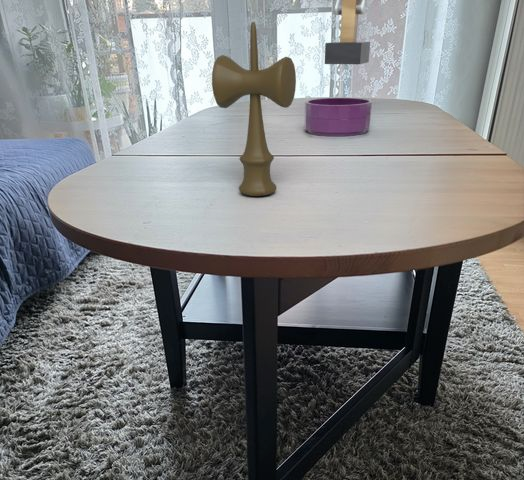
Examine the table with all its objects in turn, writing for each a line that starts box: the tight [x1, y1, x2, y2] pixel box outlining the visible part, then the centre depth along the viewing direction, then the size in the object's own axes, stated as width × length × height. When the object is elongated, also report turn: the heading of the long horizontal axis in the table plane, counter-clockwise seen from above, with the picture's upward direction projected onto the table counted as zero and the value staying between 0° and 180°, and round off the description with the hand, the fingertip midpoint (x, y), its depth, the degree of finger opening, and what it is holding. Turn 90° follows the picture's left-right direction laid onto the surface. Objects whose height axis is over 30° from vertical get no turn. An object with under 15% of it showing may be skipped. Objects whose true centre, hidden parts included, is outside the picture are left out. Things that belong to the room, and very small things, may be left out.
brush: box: [324, 0, 371, 65], centre depth 96 cm, size 7×7×14 cm
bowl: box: [304, 97, 373, 137], centre depth 111 cm, size 14×14×6 cm
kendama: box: [211, 21, 297, 197], centre depth 65 cm, size 6×10×20 cm, turn 68°
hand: (349, 11), depth 94 cm, fingers closed on brush, 2 cm apart
